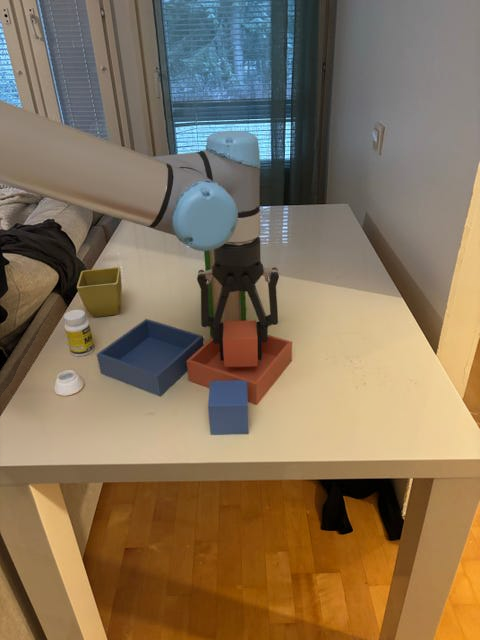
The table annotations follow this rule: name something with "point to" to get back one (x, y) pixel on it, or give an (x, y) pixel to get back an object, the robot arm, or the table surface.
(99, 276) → the flower pot
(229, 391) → the slate block
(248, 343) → the rust block
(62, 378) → the lidless jar
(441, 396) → the table surface
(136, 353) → the slate bin
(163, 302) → the table surface
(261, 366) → the rust bin
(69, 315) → the supplement bottle
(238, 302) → the hardback book
